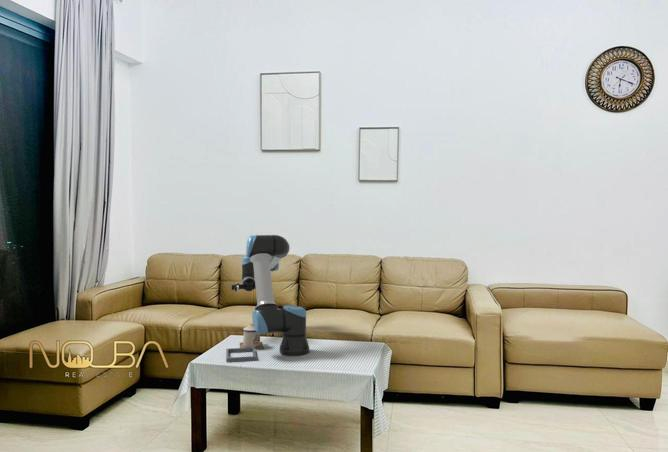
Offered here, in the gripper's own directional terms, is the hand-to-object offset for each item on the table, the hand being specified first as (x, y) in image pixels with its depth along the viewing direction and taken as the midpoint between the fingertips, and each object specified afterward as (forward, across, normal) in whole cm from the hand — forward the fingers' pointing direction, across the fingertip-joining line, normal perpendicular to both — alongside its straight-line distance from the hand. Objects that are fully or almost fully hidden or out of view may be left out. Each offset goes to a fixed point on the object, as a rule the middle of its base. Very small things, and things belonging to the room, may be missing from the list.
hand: (250, 289), depth 274 cm
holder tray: (+28, +6, -29) cm, 41 cm away
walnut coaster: (+10, 0, -29) cm, 31 cm away
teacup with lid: (+10, -1, -29) cm, 30 cm away
